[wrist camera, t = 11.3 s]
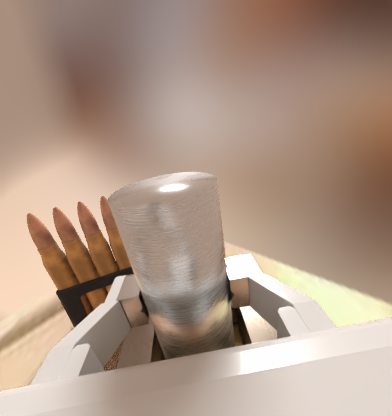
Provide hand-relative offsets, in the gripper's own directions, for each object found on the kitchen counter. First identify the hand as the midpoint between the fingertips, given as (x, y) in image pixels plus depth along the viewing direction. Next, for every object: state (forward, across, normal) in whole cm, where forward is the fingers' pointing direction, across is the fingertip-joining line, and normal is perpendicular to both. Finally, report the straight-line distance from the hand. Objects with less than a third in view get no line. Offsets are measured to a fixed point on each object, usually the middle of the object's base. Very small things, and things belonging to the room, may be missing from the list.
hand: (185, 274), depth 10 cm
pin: (-1, 0, +7) cm, 7 cm away
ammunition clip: (+7, +7, +9) cm, 14 cm away
